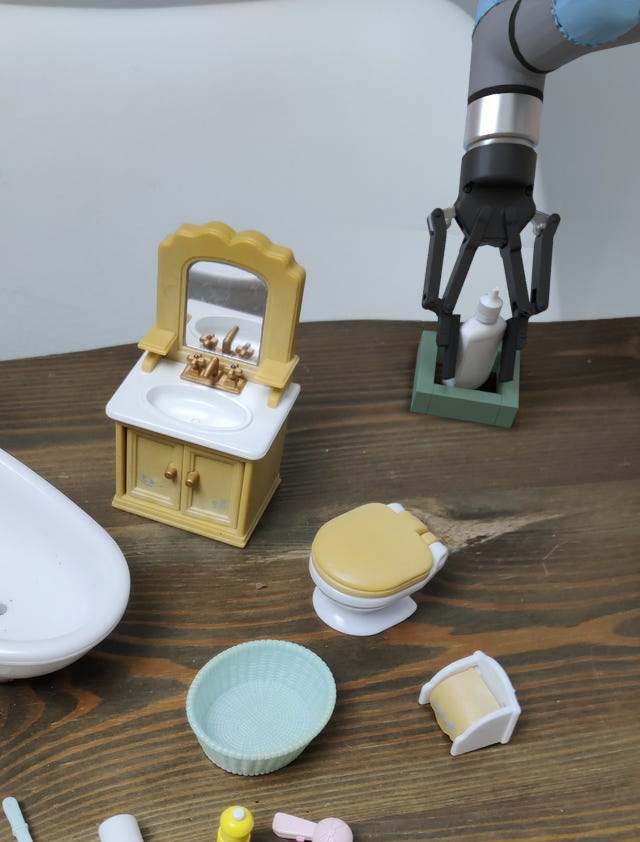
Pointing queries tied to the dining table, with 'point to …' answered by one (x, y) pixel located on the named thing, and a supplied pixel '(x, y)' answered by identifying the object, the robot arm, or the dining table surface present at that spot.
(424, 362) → the socket pad
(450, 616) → the dining table surface
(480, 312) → the eye dropper bottle
